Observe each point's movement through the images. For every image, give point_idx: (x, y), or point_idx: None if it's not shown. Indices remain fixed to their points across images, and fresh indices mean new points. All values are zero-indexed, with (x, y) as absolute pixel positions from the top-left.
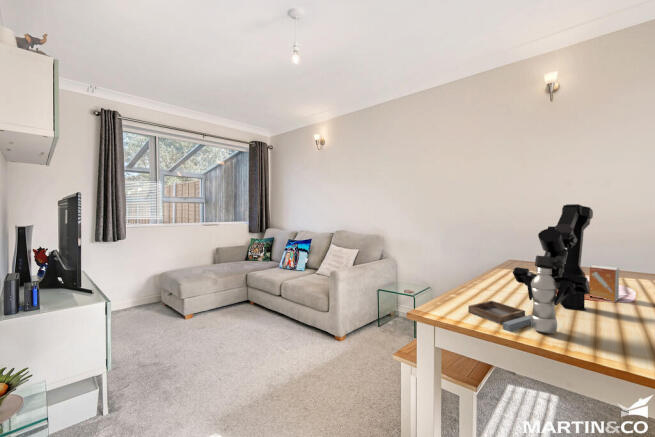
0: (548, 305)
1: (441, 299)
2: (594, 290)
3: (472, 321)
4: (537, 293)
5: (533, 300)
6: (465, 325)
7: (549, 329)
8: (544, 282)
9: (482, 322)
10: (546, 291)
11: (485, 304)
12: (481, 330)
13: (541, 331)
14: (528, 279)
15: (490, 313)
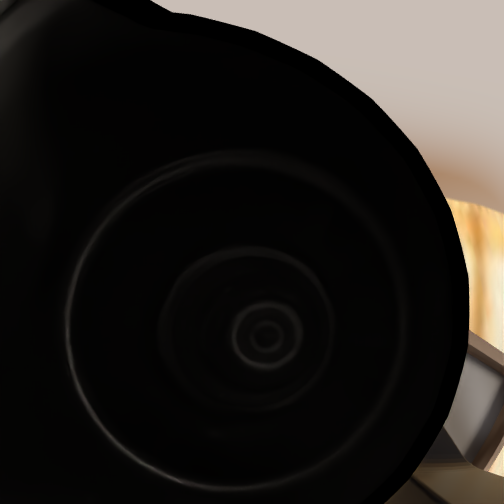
0: (221, 264)
1: None
2: None
3: (497, 283)
4: (306, 219)
5: (332, 314)
6: (497, 229)
7: (244, 288)
8: (184, 89)
9: (476, 295)
10: (203, 178)
11: (481, 465)
12: (457, 210)
13: (277, 292)
14: (471, 481)
15: (479, 337)
